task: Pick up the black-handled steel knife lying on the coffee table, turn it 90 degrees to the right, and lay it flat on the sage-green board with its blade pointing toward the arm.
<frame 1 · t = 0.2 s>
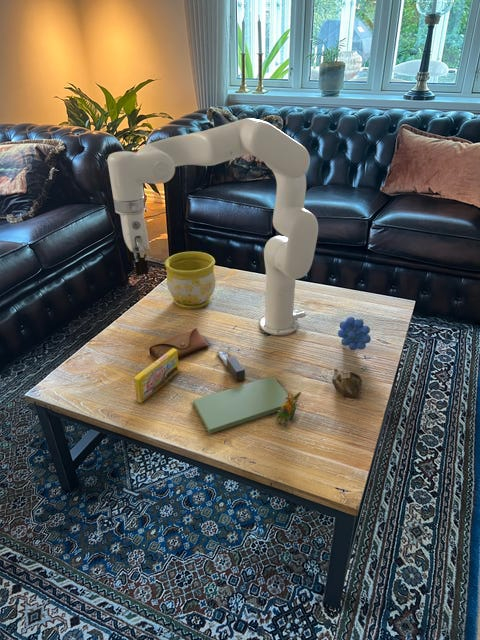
hand: (138, 266, 119), 31 cm above the table, tool pointing down, fingers open, 9 cm apart
fossilized seashell: (345, 389, 123), on the table
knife: (226, 360, 135), on the table
sage board: (243, 405, 118), on the table
flowerpot: (192, 301, 167), on the table
sunglasses case: (181, 351, 139), on the table
blue flower shape: (353, 349, 140), on the table
figurine: (288, 419, 113), on the table
candy box: (159, 386, 125), on the table
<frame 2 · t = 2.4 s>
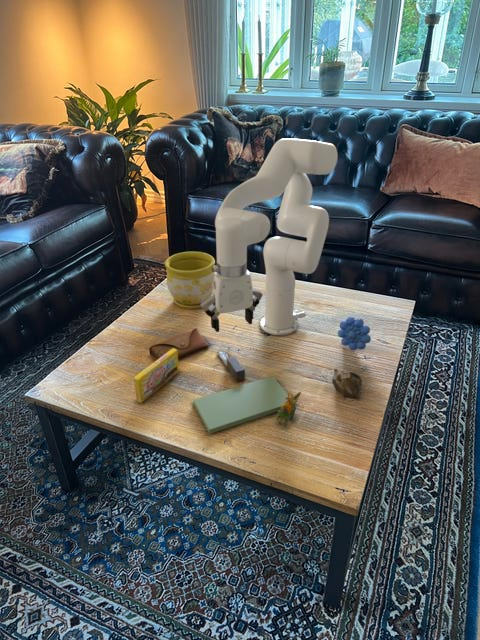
hand: (232, 325, 120), 17 cm above the table, tool pointing down, fingers open, 9 cm apart
nothing on the table moved.
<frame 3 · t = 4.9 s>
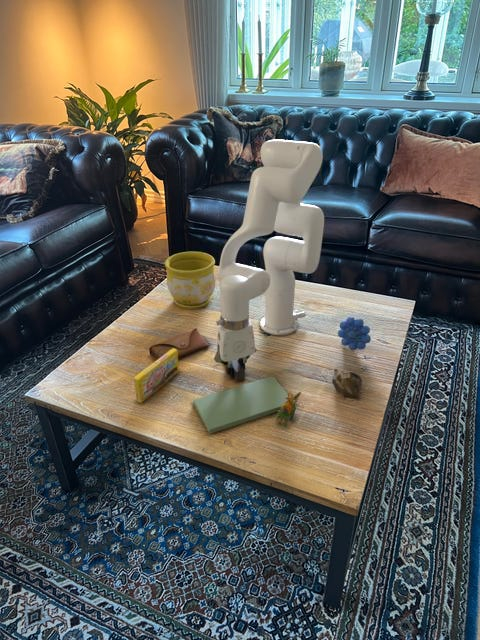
hand: (235, 373, 129), 0 cm above the table, tool pointing down, fingers closed on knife, 2 cm apart
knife: (226, 360, 135), on the table, touching gripper
everything else where it was.
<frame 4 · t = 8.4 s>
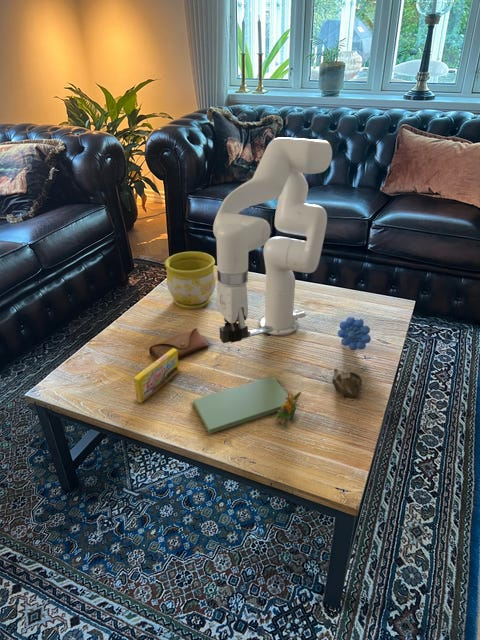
hand: (233, 337, 117), 16 cm above the table, tool pointing down, fingers closed on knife, 2 cm apart
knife: (257, 332, 120), point 15 cm above the table, touching gripper
everything else where it was.
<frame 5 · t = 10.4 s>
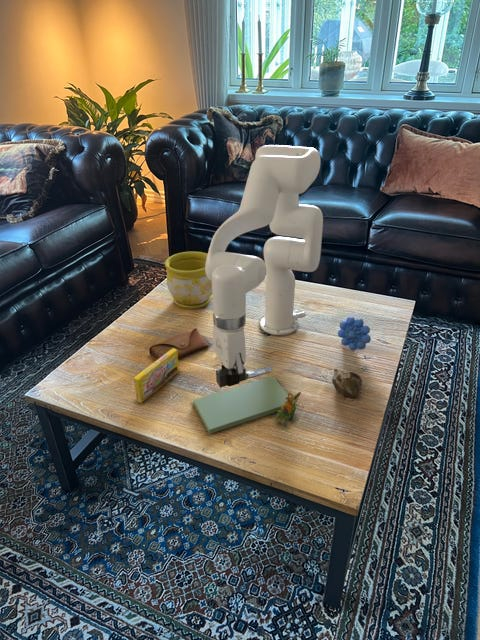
hand: (230, 380, 111), 10 cm above the table, tool pointing down, fingers closed on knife, 2 cm apart
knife: (255, 373, 114), point 10 cm above the table, touching gripper
everything else where it was.
when the fingers open (2 cm above the table, at t = 12.3 s): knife stays where it is, resting on sage board.
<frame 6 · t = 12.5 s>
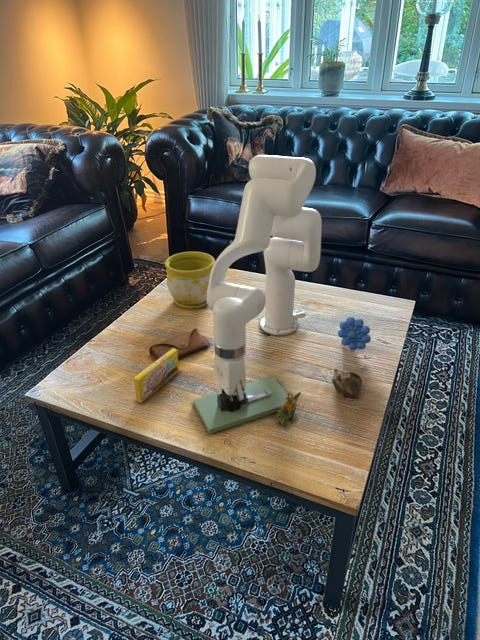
hand: (231, 403, 116), 2 cm above the table, tool pointing down, fingers open, 3 cm apart
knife: (255, 397, 118), point 1 cm above the table, touching sage board
everything else where it was.
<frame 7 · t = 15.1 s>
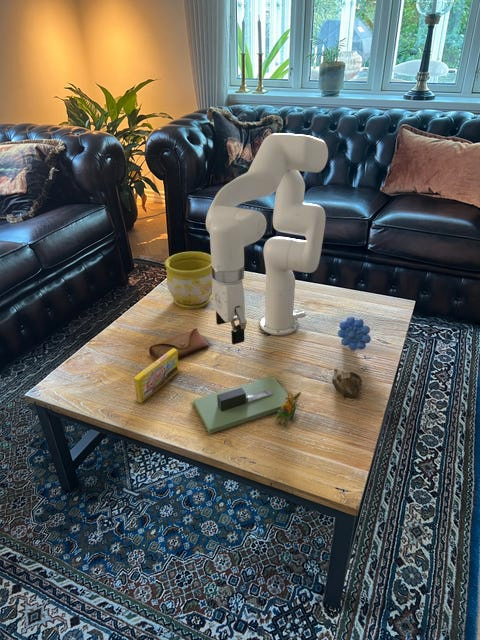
hand: (230, 332, 112), 20 cm above the table, tool pointing down, fingers open, 9 cm apart
nothing on the table moved.
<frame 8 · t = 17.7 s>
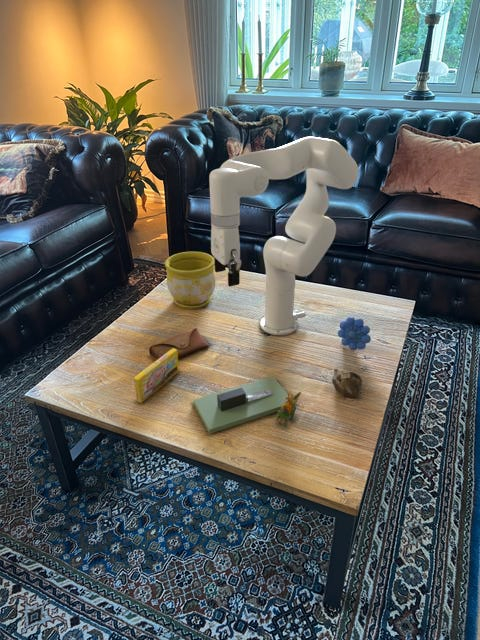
hand: (226, 277, 124), 26 cm above the table, tool pointing down, fingers open, 9 cm apart
nothing on the table moved.
at the end: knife 0.1 cm from the target spot on the sage board, point 1.5 cm above the sage board's base; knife tilted 0°; the gripper is holding nothing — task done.
